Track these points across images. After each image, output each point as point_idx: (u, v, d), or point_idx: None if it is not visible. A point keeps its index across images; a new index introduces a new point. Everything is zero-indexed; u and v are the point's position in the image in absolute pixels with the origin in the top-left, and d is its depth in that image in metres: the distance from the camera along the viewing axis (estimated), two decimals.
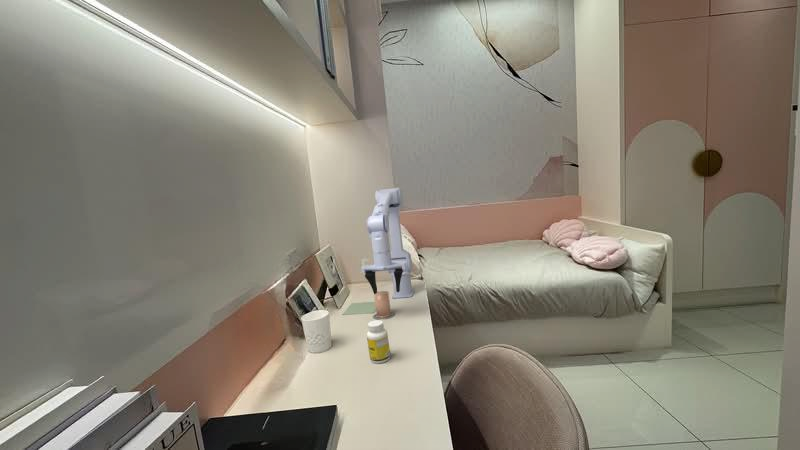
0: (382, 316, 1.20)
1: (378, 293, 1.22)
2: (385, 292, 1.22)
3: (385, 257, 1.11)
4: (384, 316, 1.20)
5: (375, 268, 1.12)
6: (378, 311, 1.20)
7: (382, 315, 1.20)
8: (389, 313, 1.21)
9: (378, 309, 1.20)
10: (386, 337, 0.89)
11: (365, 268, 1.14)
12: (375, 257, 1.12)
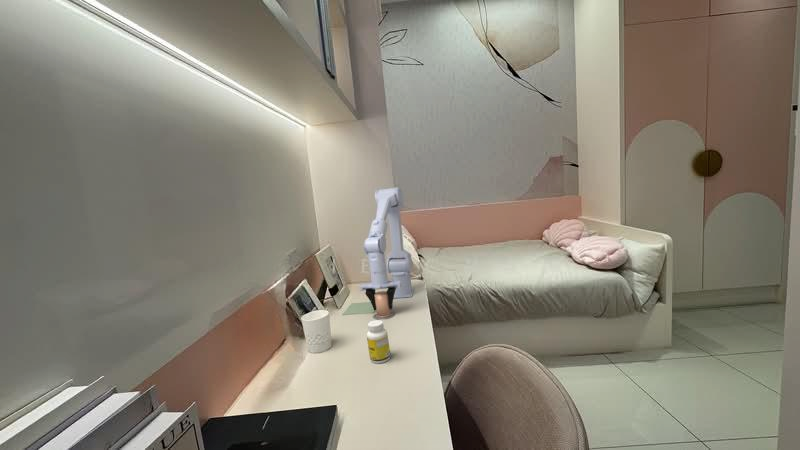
0: (382, 316, 1.20)
1: (378, 293, 1.22)
2: (385, 292, 1.22)
3: (382, 277, 1.18)
4: (384, 316, 1.20)
5: (372, 287, 1.19)
6: (378, 311, 1.20)
7: (382, 315, 1.20)
8: (389, 313, 1.21)
9: (378, 309, 1.20)
10: (386, 337, 0.89)
11: (363, 286, 1.21)
12: (372, 276, 1.19)
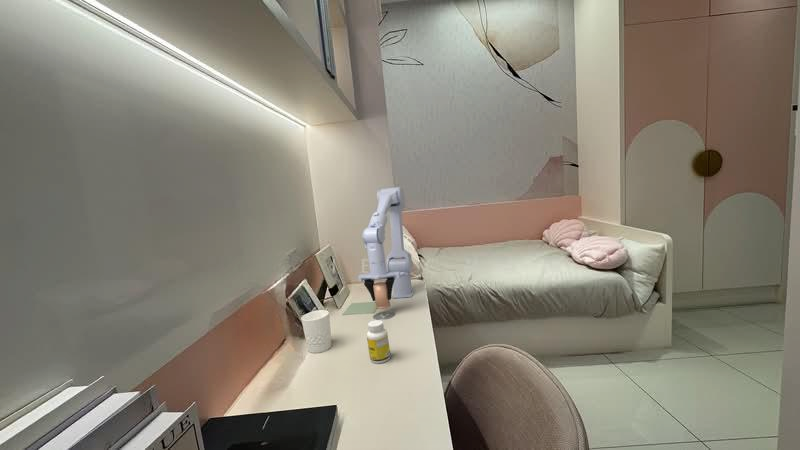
0: (381, 307, 1.19)
1: (377, 284, 1.21)
2: (384, 283, 1.22)
3: (380, 267, 1.18)
4: (383, 307, 1.19)
5: (371, 277, 1.19)
6: (377, 302, 1.20)
7: (381, 306, 1.19)
8: (388, 304, 1.21)
9: (377, 300, 1.20)
10: (386, 337, 0.89)
11: (361, 277, 1.21)
12: (371, 267, 1.19)
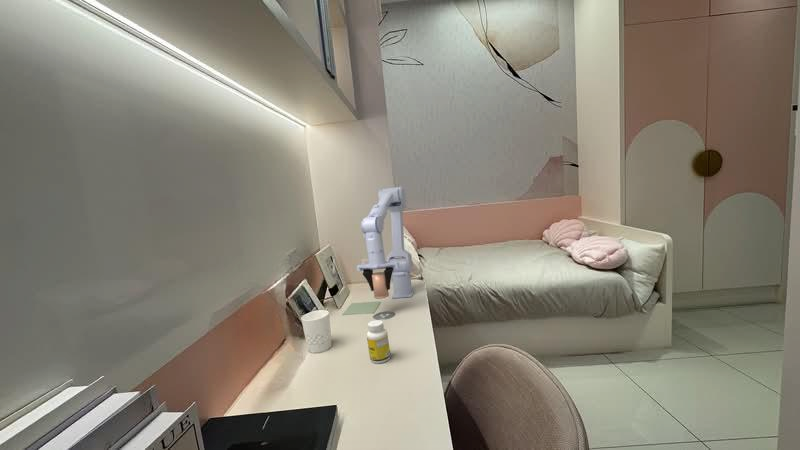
0: (379, 296, 1.19)
1: (375, 274, 1.21)
2: (382, 273, 1.21)
3: (379, 257, 1.18)
4: (381, 296, 1.19)
5: (369, 267, 1.18)
6: (375, 291, 1.20)
7: (379, 295, 1.19)
8: (386, 293, 1.20)
9: (375, 289, 1.19)
10: (386, 337, 0.89)
11: (360, 267, 1.20)
12: (369, 256, 1.18)
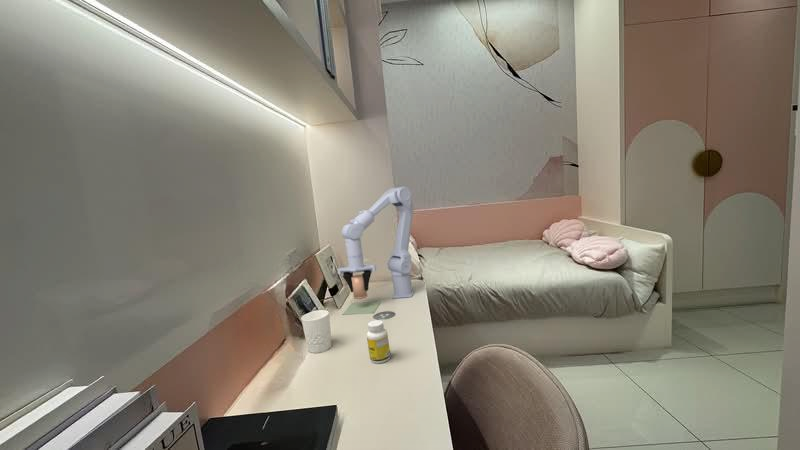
0: (358, 297, 1.30)
1: (355, 276, 1.32)
2: (361, 275, 1.32)
3: (358, 261, 1.28)
4: (360, 297, 1.30)
5: (349, 270, 1.29)
6: (354, 292, 1.30)
7: (358, 296, 1.30)
8: (365, 294, 1.31)
9: (354, 291, 1.30)
10: (386, 337, 0.89)
11: (341, 270, 1.31)
12: (349, 260, 1.29)
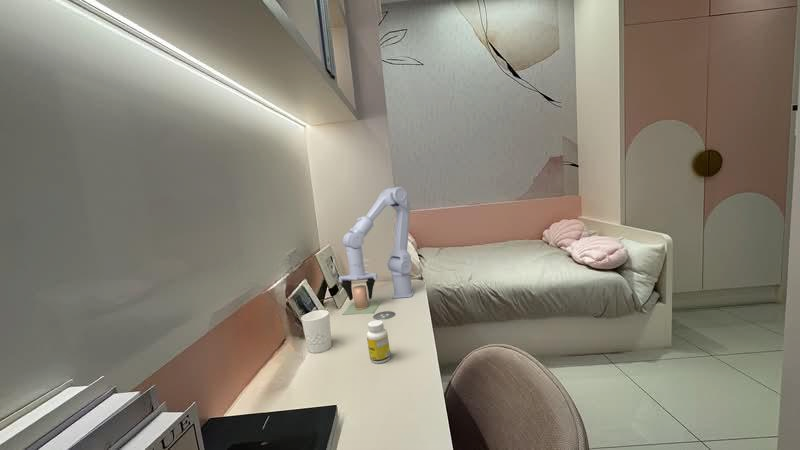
0: (360, 308, 1.30)
1: (356, 287, 1.32)
2: (363, 286, 1.32)
3: (359, 269, 1.29)
4: (361, 308, 1.30)
5: (350, 278, 1.30)
6: (356, 303, 1.31)
7: (360, 307, 1.30)
8: (366, 305, 1.31)
9: (356, 302, 1.31)
10: (386, 337, 0.89)
11: (342, 278, 1.32)
12: (350, 269, 1.29)
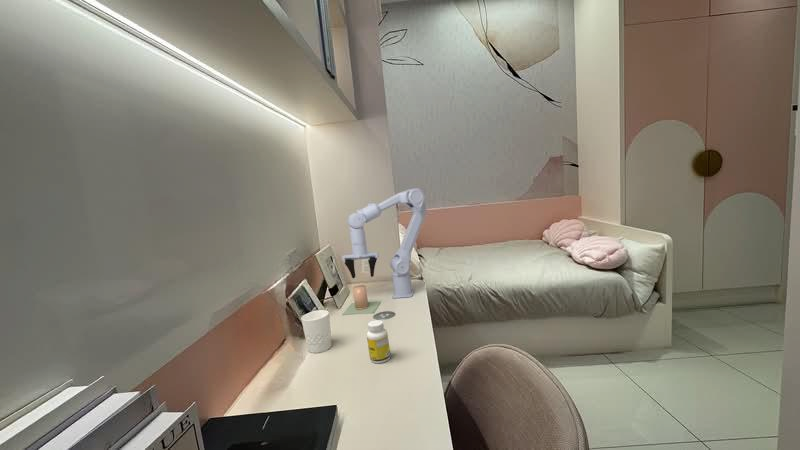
0: (360, 308, 1.30)
1: (356, 287, 1.32)
2: (363, 286, 1.32)
3: (361, 248, 1.35)
4: (361, 308, 1.30)
5: (353, 257, 1.36)
6: (356, 303, 1.31)
7: (360, 307, 1.30)
8: (366, 305, 1.31)
9: (356, 301, 1.31)
10: (386, 337, 0.89)
11: (345, 257, 1.38)
12: (353, 247, 1.36)
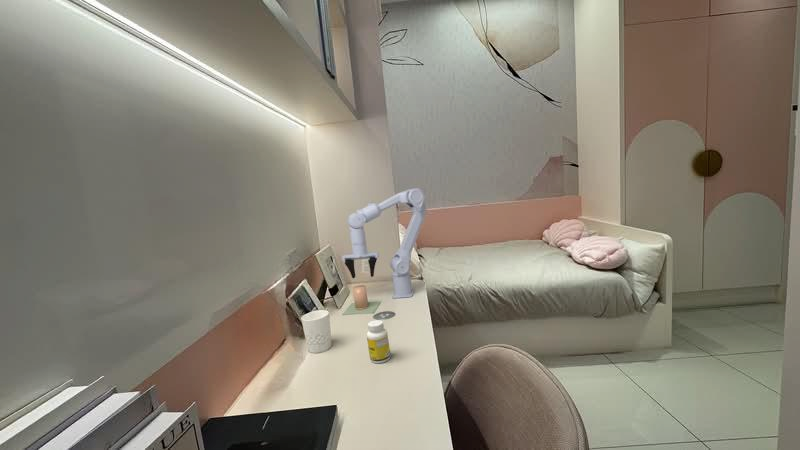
0: (360, 308, 1.30)
1: (356, 287, 1.32)
2: (363, 286, 1.32)
3: (361, 248, 1.35)
4: (361, 308, 1.30)
5: (353, 257, 1.36)
6: (356, 303, 1.31)
7: (360, 307, 1.30)
8: (366, 305, 1.31)
9: (356, 301, 1.31)
10: (386, 337, 0.89)
11: (345, 257, 1.38)
12: (353, 247, 1.36)
